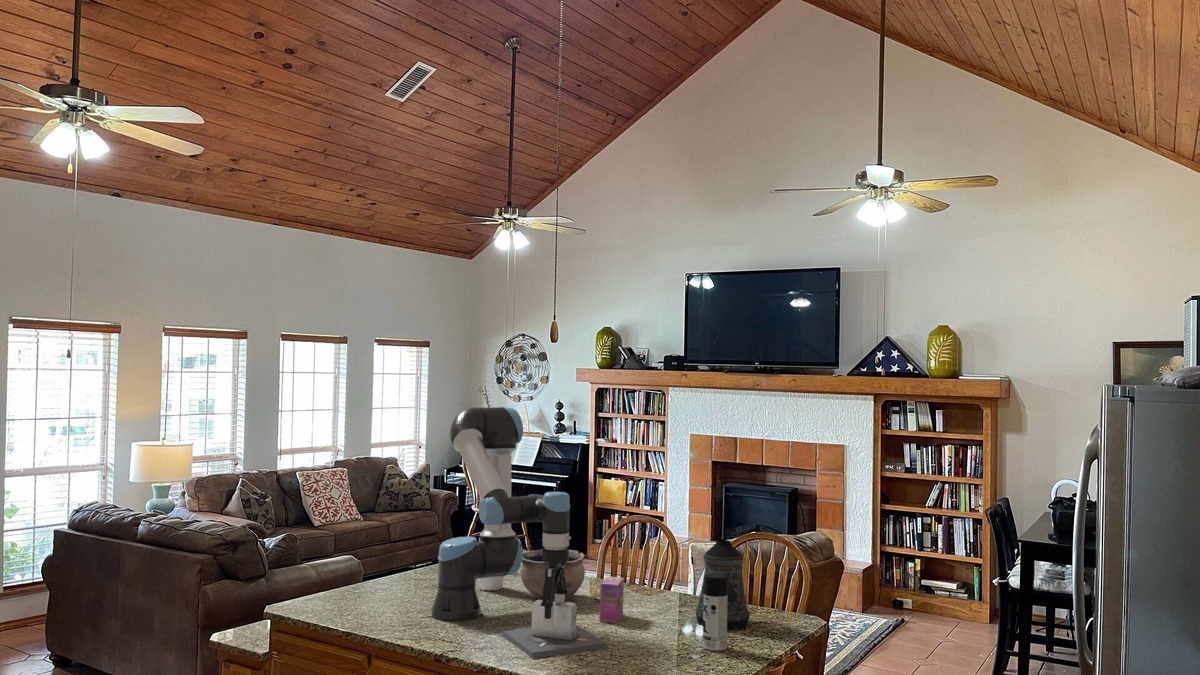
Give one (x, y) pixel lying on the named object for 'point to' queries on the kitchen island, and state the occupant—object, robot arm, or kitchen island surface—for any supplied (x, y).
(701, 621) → the beer stein
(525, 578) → the ceramic bowl
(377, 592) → the kitchen island surface
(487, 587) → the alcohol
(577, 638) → the dial plate
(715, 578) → the spray can
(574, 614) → the dial handle
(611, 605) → the box
